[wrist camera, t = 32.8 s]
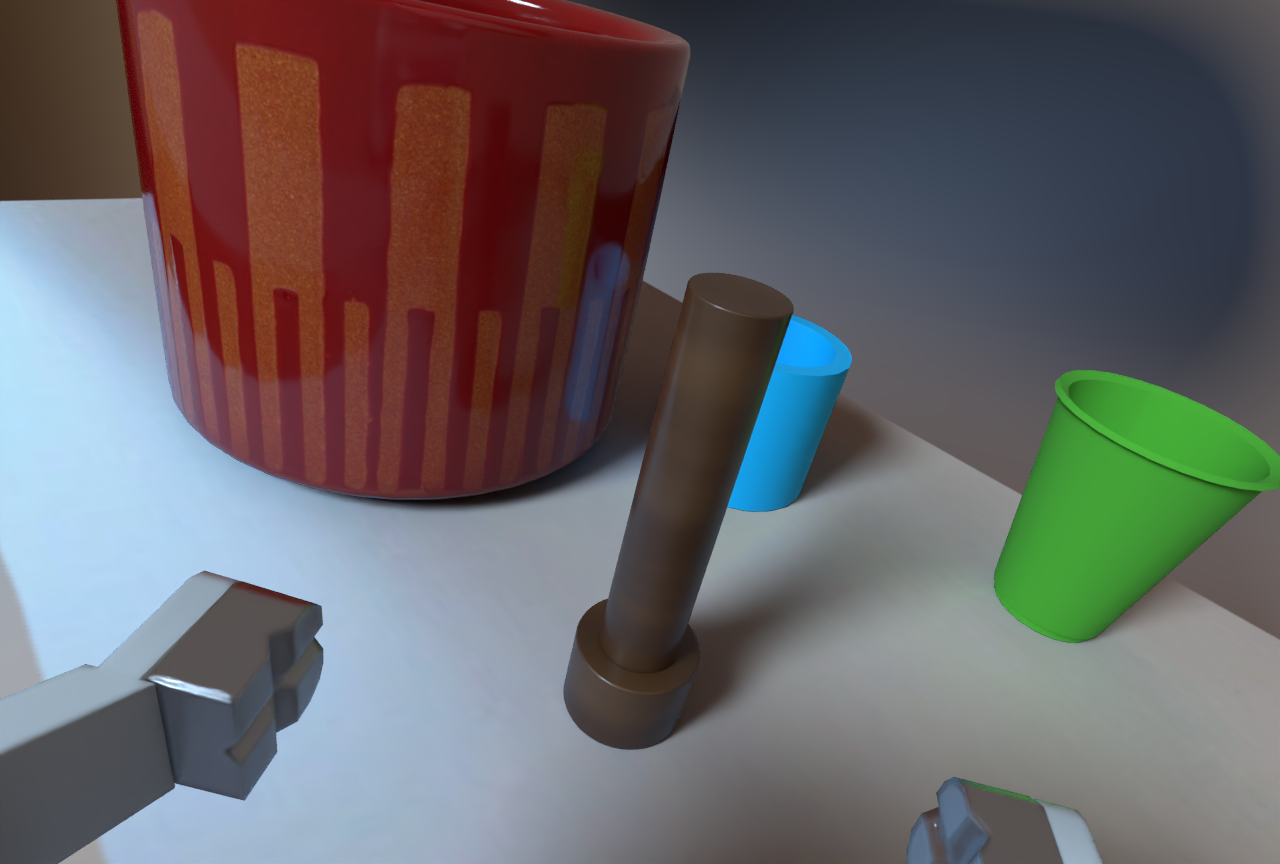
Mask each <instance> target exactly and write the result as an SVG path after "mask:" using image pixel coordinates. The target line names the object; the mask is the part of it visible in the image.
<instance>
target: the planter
mask: <svg viewBox="0 0 1280 864" xmlns="http://www.w3.org/2000/svg"><path fill="white" fill-rule="evenodd" d="M116 5H117V14H118V22H119V29H120V37H121V44H122V52H123V60H124V67H125V75H126V82H127V89H128V97H129V105H130V112H131V119H132V127H133V134H134V141H135V148H136V156H137V163H138V170H139V177H140V185H141V192H142V199H143V206H144V213H145V220H146V227H147V234H148V241H149V248H150V256H151V263H152V270H153V277H154V284H155V291H156V298H157V305H158V312H159V319H160V326H161V333H162V339H163V346H164V353H165V360H166V367H167V373H168V379H169V383H170V387H171V391H172V395H173V399H174V402H175V403H176V405H177V407H178V408H179V410H180V411H181V413H182V414H183V416H184V417H185V419H186V420H187V422H188V423H189V424H190V425H191V426H192V427H193V428H194V429H195V430H196V431H197V432H199V433H200V434H201V435H202V436H203V437H204V438H205V439H206V440H207V441H208V442H209V443H211V444H212V445H214V446H215V447H217V448H219V449H220V450H222V451H223V452H225V453H227V454H228V455H230V456H231V457H233V458H234V459H236V460H238V461H240V462H242V463H244V464H246V465H248V466H251V467H253V468H255V469H258V470H260V471H262V472H264V473H267V474H269V475H271V476H274V477H277V478H280V479H283V480H287V481H290V482H293V483H297V484H300V485H303V486H307V487H310V488H314V489H319V490H324V491H329V492H335V493H340V494H345V495H350V496H357V497H368V498H379V499H390V500H439V499H449V498H459V497H469V496H476V495H481V494H486V493H491V492H496V491H501V490H506V489H510V488H513V487H516V486H519V485H522V484H525V483H528V482H532V481H535V480H538V479H541V478H543V477H545V476H547V475H549V474H551V473H553V472H555V471H557V470H559V469H561V468H563V467H565V466H567V465H569V464H570V463H572V462H573V461H574V460H576V459H577V458H579V457H580V456H581V455H583V454H584V453H585V452H587V451H588V450H589V449H590V448H591V447H592V446H593V445H594V444H595V443H596V441H597V440H598V439H599V438H600V437H601V436H602V435H603V434H604V432H605V430H606V428H607V426H608V424H609V422H610V420H611V417H612V415H613V411H614V407H615V403H616V398H617V394H618V389H619V385H620V380H621V376H622V371H623V367H624V362H625V358H626V353H627V348H628V344H629V339H630V335H631V330H632V326H633V321H634V317H635V312H636V307H637V303H638V298H639V294H640V289H641V284H642V280H643V275H644V271H645V266H646V262H647V257H648V252H649V248H650V243H651V238H652V233H653V229H654V224H655V220H656V215H657V211H658V206H659V201H660V197H661V192H662V187H663V182H664V178H665V173H666V168H667V163H668V159H669V154H670V149H671V144H672V140H673V135H674V130H675V125H676V120H677V115H678V111H679V106H680V101H681V96H682V92H683V87H684V82H685V77H686V73H687V68H688V64H689V59H690V46H689V44H688V42H686V41H685V40H684V39H682V38H680V37H679V36H677V35H675V34H672V33H670V32H668V31H665V30H663V29H660V28H657V27H654V26H652V25H648V24H645V23H642V22H639V21H636V20H633V19H630V18H627V17H623V16H620V15H617V14H613V13H610V12H606V11H603V10H599V9H596V8H592V7H589V6H585V5H581V4H578V3H574V2H570V1H566V0H116Z"/></svg>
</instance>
